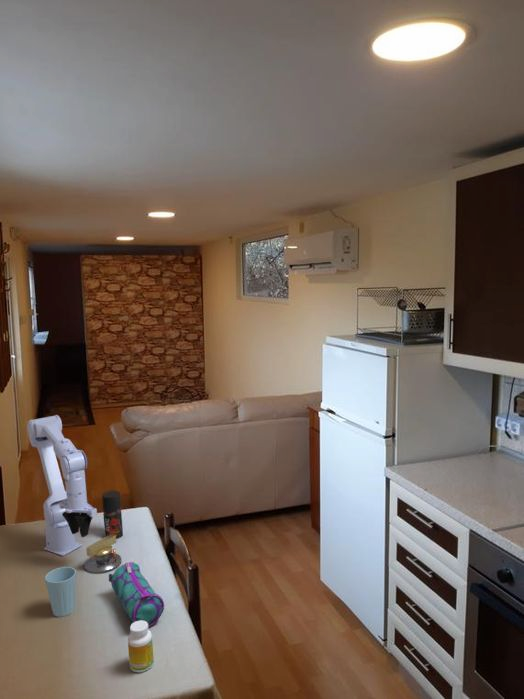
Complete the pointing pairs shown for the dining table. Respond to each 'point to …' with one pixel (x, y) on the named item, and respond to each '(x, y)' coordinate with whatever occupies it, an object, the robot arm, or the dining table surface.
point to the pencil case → (136, 594)
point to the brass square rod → (101, 547)
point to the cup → (61, 590)
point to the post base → (103, 563)
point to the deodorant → (112, 513)
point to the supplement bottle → (140, 647)
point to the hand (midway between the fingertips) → (80, 534)
